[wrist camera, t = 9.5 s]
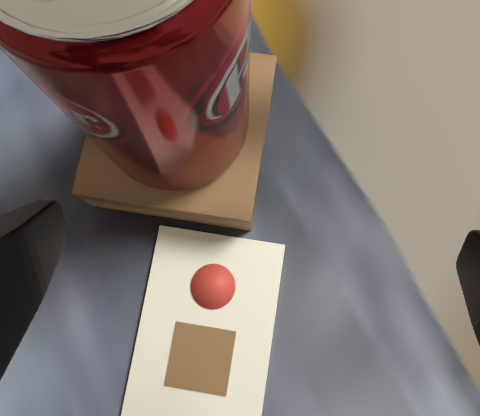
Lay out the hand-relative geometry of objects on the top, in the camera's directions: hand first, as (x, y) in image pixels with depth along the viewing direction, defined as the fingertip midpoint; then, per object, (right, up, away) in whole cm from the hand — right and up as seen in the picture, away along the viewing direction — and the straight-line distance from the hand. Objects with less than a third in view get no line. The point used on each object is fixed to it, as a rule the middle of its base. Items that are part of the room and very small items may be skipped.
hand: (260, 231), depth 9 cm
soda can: (-4, +5, +12) cm, 13 cm away
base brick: (-4, +4, +15) cm, 16 cm away
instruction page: (-2, -6, +13) cm, 14 cm away
